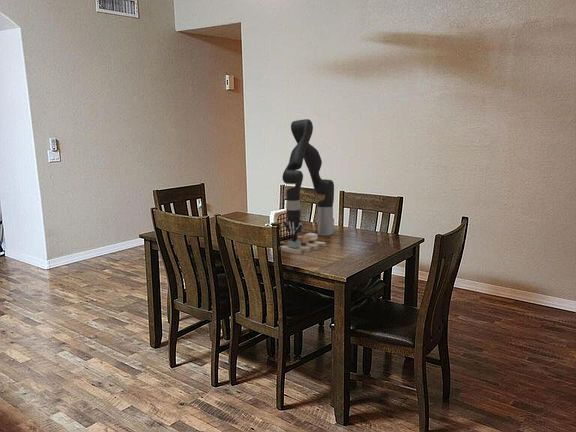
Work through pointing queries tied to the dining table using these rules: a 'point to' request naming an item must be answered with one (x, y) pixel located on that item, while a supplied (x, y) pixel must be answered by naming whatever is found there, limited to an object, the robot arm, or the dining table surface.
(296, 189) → the robot arm
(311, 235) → the light grey square block
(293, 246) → the grey block
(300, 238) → the tile
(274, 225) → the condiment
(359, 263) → the dining table surface
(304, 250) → the board
